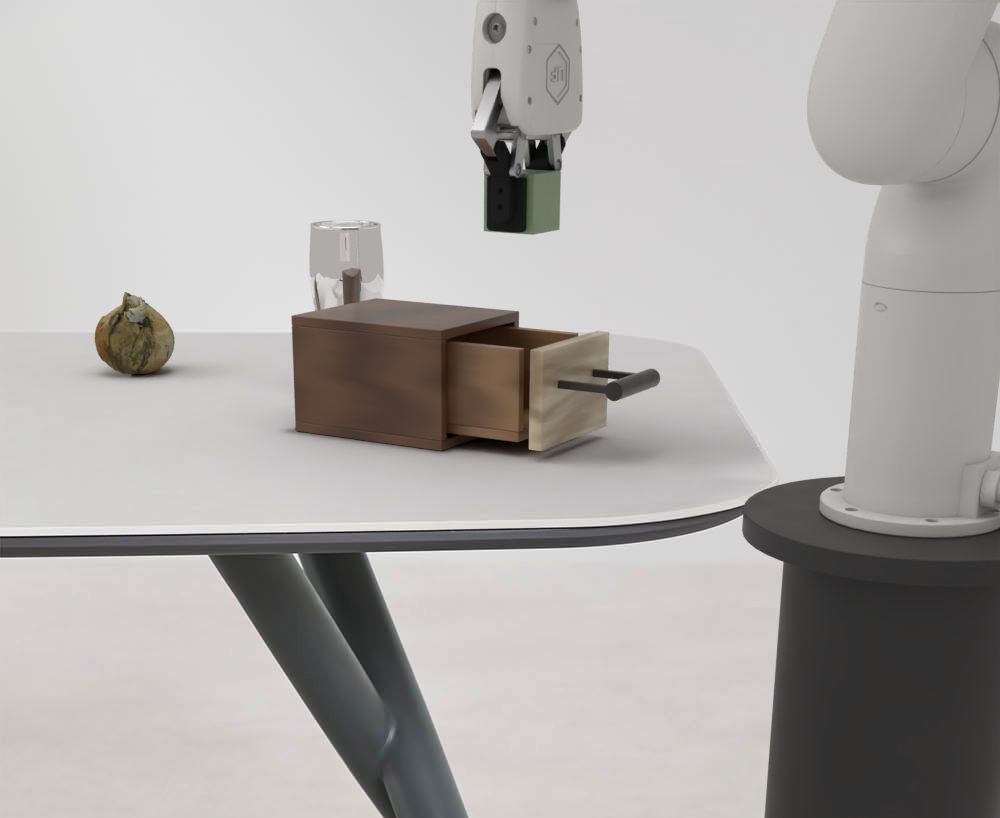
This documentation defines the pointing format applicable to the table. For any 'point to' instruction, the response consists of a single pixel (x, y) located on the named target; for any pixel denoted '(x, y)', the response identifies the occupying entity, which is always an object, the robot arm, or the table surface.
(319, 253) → the beer glass
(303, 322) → the cabinet
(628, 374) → the drawer
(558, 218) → the block
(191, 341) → the table surface
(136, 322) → the onion
